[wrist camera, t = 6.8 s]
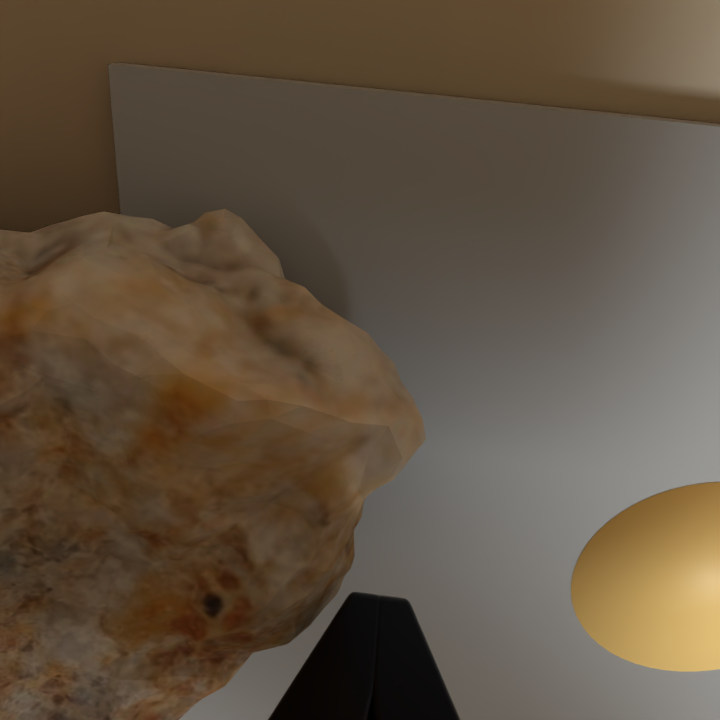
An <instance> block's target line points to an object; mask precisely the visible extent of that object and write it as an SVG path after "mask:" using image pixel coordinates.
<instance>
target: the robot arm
mask: <svg viewBox="0 0 720 720" xmlns="http://www.w3.org/2000/svg"><path fill="white" fill-rule="evenodd" d="M268 720H460V717H459V715H458V713H457V710H456V708H455V706H454V703H453V701H452V699H451V696H450V694H449V692H448V689H447V687H446V685H445V682H444V680H443V678H442V675H441V673H440V671H439V668H438V666H437V664H436V661H435V659H434V657H433V654H432V652H431V650H430V647H429V645H428V643H427V640H426V638H425V636H424V633H423V631H422V629H421V626H420V624H419V622H418V619H417V617H416V615H415V612H414V610H413V608H412V605H411V604H410V602H409V601H408V600H407V599H405V598H399V597H392V596H385V595H377V594H370V593H362V592H352V593H350V594H349V595H348V596H347V598H346V599H345V601H344V602H343V604H342V605H341V607H340V609H339V610H338V612H337V613H336V615H335V616H334V618H333V619H332V621H331V623H330V624H329V626H328V627H327V629H326V630H325V632H324V633H323V635H322V636H321V638H320V640H319V641H318V643H317V644H316V646H315V647H314V649H313V650H312V652H311V653H310V655H309V657H308V658H307V660H306V661H305V663H304V664H303V666H302V667H301V669H300V671H299V672H298V674H297V675H296V677H295V678H294V680H293V681H292V683H291V684H290V686H289V688H288V689H287V691H286V692H285V694H284V695H283V697H282V698H281V700H280V701H279V703H278V705H277V706H276V708H275V709H274V711H273V712H272V714H271V715H270V717H269V719H268Z"/></svg>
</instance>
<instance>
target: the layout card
mask: <svg viewBox="0 0 720 720" xmlns="http://www.w3.org/2000/svg"><path fill="white" fill-rule="evenodd" d="M108 72H109V84H110V96H111V108H112V120H113V132H114V144H115V156H116V168H117V180H118V192H119V204H120V214H121V215H126V216H132V217H141V218H150V219H154V220H156V221H159V222H161V223H163V224H165V225H167V226H169V227H171V228H176V227H180V226H183V225H187V224H189V223H192V222H194V221H196V220H197V219H198V218H200V217H201V216H202V215H203V214H204V213H205V212H211V211H216V210H221V209H227V210H228V211H230V212H232V213H234V214H235V215H237V216H239V217H241V218H242V219H243V220H244V221H245V222H246V223H247V224H248V226H249V227H250V228H251V229H252V230H253V231H254V232H255V233H256V234H257V236H258V237H259V238H260V239H261V240H262V241H263V242H264V243H265V244H266V245H267V246H268V247H269V249H270V250H271V251H272V252H273V253H274V254H275V255H276V256H277V257H278V258H279V260H280V263H281V267H282V270H283V274H284V278H285V279H286V280H289V281H291V282H293V283H296V284H298V285H301V286H303V287H305V288H306V289H307V290H308V291H309V292H310V293H311V294H312V295H313V296H314V297H315V298H316V299H317V300H318V301H319V302H320V303H321V304H322V305H323V306H325V307H327V308H328V309H330V310H331V311H333V312H334V313H336V314H337V315H339V316H340V317H342V318H344V319H345V320H347V321H349V322H350V323H352V324H354V325H356V326H357V327H359V328H361V329H362V330H364V331H366V332H367V333H368V334H369V335H370V337H371V338H372V339H373V340H374V342H375V343H376V344H377V345H378V347H379V348H380V349H381V350H382V351H383V352H384V353H385V354H386V355H387V356H388V357H389V358H390V359H391V360H392V361H393V362H394V363H395V366H396V369H397V371H398V374H399V377H400V379H401V382H402V383H403V385H404V386H405V387H406V389H407V390H408V391H409V393H410V394H411V395H412V397H413V399H414V401H415V403H416V405H417V408H418V410H419V412H420V415H421V417H422V419H423V425H424V431H425V437H426V440H425V441H424V443H423V444H422V446H421V447H419V449H418V450H417V451H416V452H415V454H414V455H413V456H412V457H411V459H410V460H409V461H408V462H407V464H406V465H405V466H404V467H403V469H402V470H401V471H400V472H399V474H398V475H397V476H396V477H395V479H394V480H392V481H390V482H388V483H386V484H384V485H382V486H380V487H378V488H377V489H376V490H374V491H373V492H372V493H371V494H369V495H368V496H367V497H366V498H365V500H364V504H363V511H362V517H361V519H360V520H359V522H358V524H357V526H356V527H355V529H354V549H355V557H354V560H353V563H352V566H351V569H350V570H349V571H348V572H347V574H346V575H345V576H344V577H343V581H342V584H341V587H340V589H339V591H338V593H337V595H336V596H335V597H334V598H333V599H332V600H331V601H330V602H329V604H328V605H327V606H326V607H325V608H324V609H323V610H322V611H321V613H320V614H319V615H318V616H317V618H316V619H315V620H314V621H313V623H312V624H311V625H310V626H309V627H308V628H307V629H305V630H304V631H303V632H302V633H301V634H299V635H298V636H297V637H296V638H294V639H293V640H292V641H291V642H290V643H288V644H287V645H283V646H279V647H275V648H271V649H267V650H262V651H258V652H254V653H252V654H251V656H250V657H249V658H248V659H247V660H246V662H245V663H244V664H243V665H242V667H241V668H240V669H239V670H238V671H237V673H236V674H235V675H234V676H233V678H232V679H231V680H230V681H229V682H228V683H227V684H226V685H225V686H224V687H223V688H221V689H219V690H217V691H216V692H214V693H212V694H210V695H208V696H206V697H205V698H203V699H201V700H200V701H199V702H198V703H197V704H195V705H194V706H193V707H192V708H191V709H190V710H189V711H188V712H186V713H185V714H184V715H183V716H182V717H181V718H180V719H179V720H268V719H269V717H270V715H271V714H272V712H273V711H274V709H275V708H276V706H277V705H278V703H279V701H280V700H281V698H282V697H283V695H284V694H285V692H286V691H287V689H288V688H289V686H290V684H291V683H292V681H293V680H294V678H295V677H296V675H297V674H298V672H299V671H300V669H301V667H302V666H303V664H304V663H305V661H306V660H307V658H308V657H309V655H310V653H311V652H312V650H313V649H314V647H315V646H316V644H317V643H318V641H319V640H320V638H321V636H322V635H323V633H324V632H325V630H326V629H327V627H328V626H329V624H330V623H331V621H332V619H333V618H334V616H335V615H336V613H337V612H338V610H339V609H340V607H341V605H342V604H343V602H344V601H345V599H346V598H347V596H348V595H349V594H350V593H352V592H362V593H370V594H377V595H385V596H392V597H399V598H405V599H407V600H408V601H409V602H410V604H411V605H412V608H413V610H414V612H415V615H416V617H417V619H418V622H419V624H420V626H421V629H422V631H423V633H424V636H425V638H426V640H427V643H428V645H429V647H430V650H431V652H432V654H433V657H434V659H435V661H436V664H437V666H438V668H439V671H440V673H441V675H442V678H443V680H444V682H445V685H446V687H447V689H448V692H449V694H450V696H451V699H452V701H453V703H454V706H455V708H456V710H457V713H458V715H459V717H460V720H720V124H719V123H709V122H699V121H689V120H679V119H670V118H660V117H650V116H640V115H630V114H620V113H611V112H601V111H591V110H581V109H571V108H561V107H552V106H542V105H532V104H522V103H512V102H502V101H493V100H483V99H473V98H463V97H453V96H443V95H434V94H424V93H414V92H404V91H394V90H384V89H375V88H365V87H355V86H345V85H335V84H325V83H316V82H306V81H296V80H286V79H276V78H266V77H257V76H247V75H237V74H227V73H217V72H207V71H198V70H188V69H178V68H168V67H158V66H148V65H139V64H129V63H113V64H108Z"/></svg>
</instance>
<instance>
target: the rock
mask: <svg viewBox="0 0 720 720" xmlns="http://www.w3.org/2000/svg"><path fill="white" fill-rule="evenodd" d="M425 440H426V437H425V431H424V425H423V419H422V417H421V415H420V412H419V410H418V408H417V405H416V403H415V401H414V399H413V397H412V395H411V394H410V393H409V391H408V390H407V389H406V387H405V386H404V385H403V383H402V382H401V379H400V377H399V374H398V371H397V369H396V366H395V363H394V362H393V361H392V360H391V359H390V358H389V357H388V356H387V355H386V354H385V353H384V352H383V351H382V350H381V349H380V348H379V347H378V345H377V344H376V343H375V342H374V340H373V339H372V338H371V337H370V335H369V334H368V333H367V332H366V331H364V330H362V329H361V328H359V327H357V326H356V325H354V324H352V323H350V322H349V321H347V320H345V319H344V318H342V317H340V316H339V315H337V314H336V313H334V312H333V311H331V310H330V309H328V308H327V307H325V306H323V305H322V304H321V303H320V302H319V301H318V300H317V299H316V298H315V297H314V296H313V295H312V294H311V293H310V292H309V291H308V290H307V289H306V288H305V287H303V286H301V285H298V284H296V283H293V282H291V281H289V280H286V279H285V278H284V274H283V270H282V267H281V263H280V260H279V258H278V257H277V256H276V255H275V254H274V253H273V252H272V251H271V250H270V249H269V247H268V246H267V245H266V244H265V243H264V242H263V241H262V240H261V239H260V238H259V237H258V236H257V234H256V233H255V232H254V231H253V230H252V229H251V228H250V227H249V226H248V224H247V223H246V222H245V221H244V220H243V219H242V218H241V217H239V216H237V215H235V214H234V213H232V212H230V211H228V210H227V209H221V210H216V211H211V212H205V213H204V214H203V215H202V216H201V217H200V218H198V219H197V220H196V221H194V222H192V223H189V224H187V225H183V226H180V227H176V228H171V227H169V226H167V225H165V224H163V223H161V222H159V221H156V220H154V219H150V218H141V217H132V216H126V215H121V214H115V213H110V212H105V211H103V212H98V213H94V214H89V215H84V216H81V217H77V218H74V219H71V220H67V221H64V222H60V223H56V224H52V225H49V226H46V227H44V228H41V229H38V230H35V231H33V232H30V233H29V232H19V231H10V230H0V720H179V719H180V718H181V717H182V716H183V715H184V714H185V713H186V712H188V711H189V710H190V709H191V708H192V707H193V706H194V705H195V704H197V703H198V702H199V701H200V700H201V699H203V698H205V697H206V696H208V695H210V694H212V693H214V692H216V691H217V690H219V689H221V688H223V687H224V686H225V685H226V684H227V683H228V682H229V681H230V680H231V679H232V678H233V676H234V675H235V674H236V673H237V671H238V670H239V669H240V668H241V667H242V665H243V664H244V663H245V662H246V660H247V659H248V658H249V657H250V656H251V654H252V653H254V652H258V651H262V650H267V649H271V648H275V647H279V646H283V645H287V644H288V643H290V642H291V641H292V640H293V639H294V638H296V637H297V636H298V635H299V634H301V633H302V632H303V631H304V630H305V629H307V628H308V627H309V626H310V625H311V624H312V623H313V621H314V620H315V619H316V618H317V616H318V615H319V614H320V613H321V611H322V610H323V609H324V608H325V607H326V606H327V605H328V604H329V602H330V601H331V600H332V599H333V598H334V597H335V596H336V595H337V593H338V591H339V589H340V587H341V584H342V581H343V577H344V576H345V575H346V574H347V572H348V571H349V570H350V569H351V566H352V563H353V560H354V557H355V549H354V529H355V527H356V526H357V524H358V522H359V520H360V519H361V517H362V511H363V504H364V500H365V498H366V497H367V496H368V495H369V494H371V493H372V492H373V491H374V490H376V489H377V488H378V487H380V486H382V485H384V484H386V483H388V482H390V481H392V480H394V479H395V477H396V476H397V475H398V474H399V472H400V471H401V470H402V469H403V467H404V466H405V465H406V464H407V462H408V461H409V460H410V459H411V457H412V456H413V455H414V454H415V452H416V451H417V450H418V449H419V447H421V446H422V444H423V443H424V441H425Z"/></svg>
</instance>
